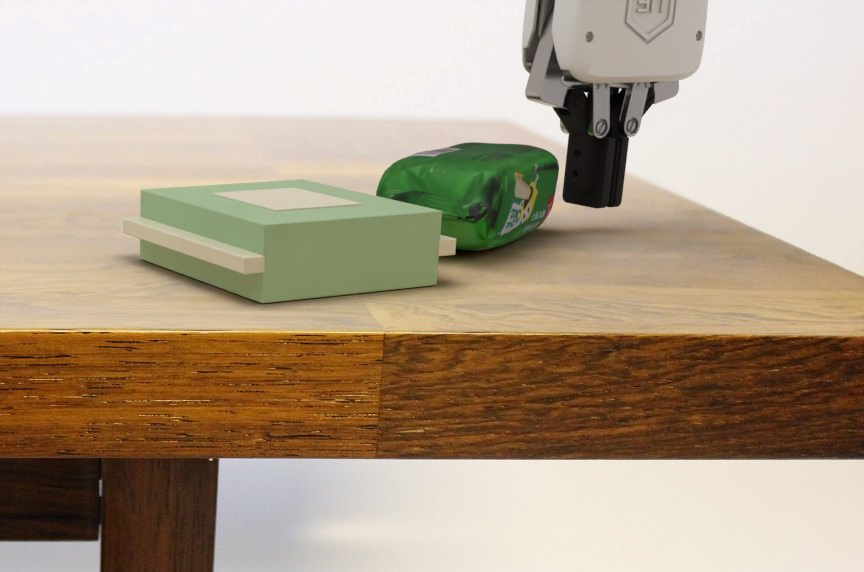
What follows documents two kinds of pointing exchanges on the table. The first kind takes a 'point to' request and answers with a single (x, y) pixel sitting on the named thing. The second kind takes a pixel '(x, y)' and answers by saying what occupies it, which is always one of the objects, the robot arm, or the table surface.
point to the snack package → (478, 189)
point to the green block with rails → (289, 239)
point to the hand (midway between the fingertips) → (591, 203)
